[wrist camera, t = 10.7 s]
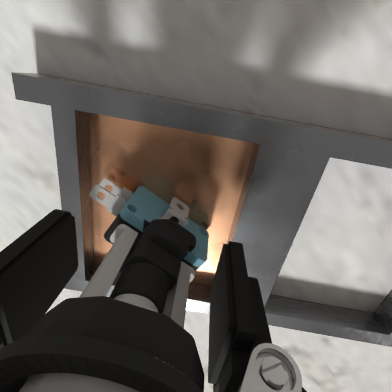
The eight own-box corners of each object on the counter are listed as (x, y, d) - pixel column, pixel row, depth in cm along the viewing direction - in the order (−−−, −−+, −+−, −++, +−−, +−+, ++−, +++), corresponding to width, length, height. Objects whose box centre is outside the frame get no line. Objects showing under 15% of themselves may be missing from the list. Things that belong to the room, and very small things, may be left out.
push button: (84, 210, 13) (-178, 463, 4) (131, 137, 11) (-179, 330, 2) (178, 269, 15) (120, 554, 6) (234, 213, 13) (278, 517, 4)
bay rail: (545, 167, 11) (591, 180, 10) (402, 329, 16) (419, 351, 15) (37, 73, 11) (11, 72, 9) (60, 268, 16) (46, 285, 15)
